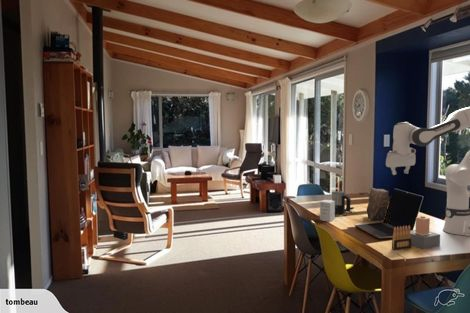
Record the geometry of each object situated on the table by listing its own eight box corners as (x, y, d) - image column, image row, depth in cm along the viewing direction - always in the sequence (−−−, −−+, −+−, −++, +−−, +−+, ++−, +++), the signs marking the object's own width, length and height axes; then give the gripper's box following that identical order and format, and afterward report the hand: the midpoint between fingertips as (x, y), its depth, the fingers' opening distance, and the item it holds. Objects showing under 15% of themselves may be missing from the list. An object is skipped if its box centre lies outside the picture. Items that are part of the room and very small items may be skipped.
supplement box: (324, 217, 265) (324, 199, 264) (334, 219, 261) (335, 200, 260) (319, 220, 260) (319, 201, 259) (329, 221, 255) (330, 202, 254)
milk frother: (329, 213, 277) (329, 192, 276) (335, 208, 291) (336, 189, 290) (350, 215, 270) (350, 194, 269) (355, 210, 284) (355, 190, 283)
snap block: (421, 231, 211) (422, 215, 210) (429, 233, 207) (429, 217, 206) (415, 232, 209) (416, 216, 208) (422, 234, 205) (423, 218, 204)
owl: (366, 216, 268) (366, 187, 266) (385, 216, 266) (386, 187, 264) (369, 221, 255) (370, 190, 253) (390, 221, 253) (391, 191, 251)
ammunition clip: (394, 250, 200) (394, 227, 199) (391, 249, 201) (392, 226, 200) (411, 247, 203) (412, 225, 202) (408, 246, 205) (409, 224, 203)
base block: (420, 239, 216) (420, 228, 216) (439, 245, 206) (440, 234, 205) (404, 242, 211) (404, 231, 211) (423, 249, 201) (424, 237, 200)
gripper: (392, 151, 220) (391, 176, 222) (417, 149, 229) (417, 173, 230) (383, 150, 226) (382, 174, 227) (408, 149, 235) (408, 172, 236)
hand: (400, 174), depth 229 cm, fingers open, 8 cm apart
